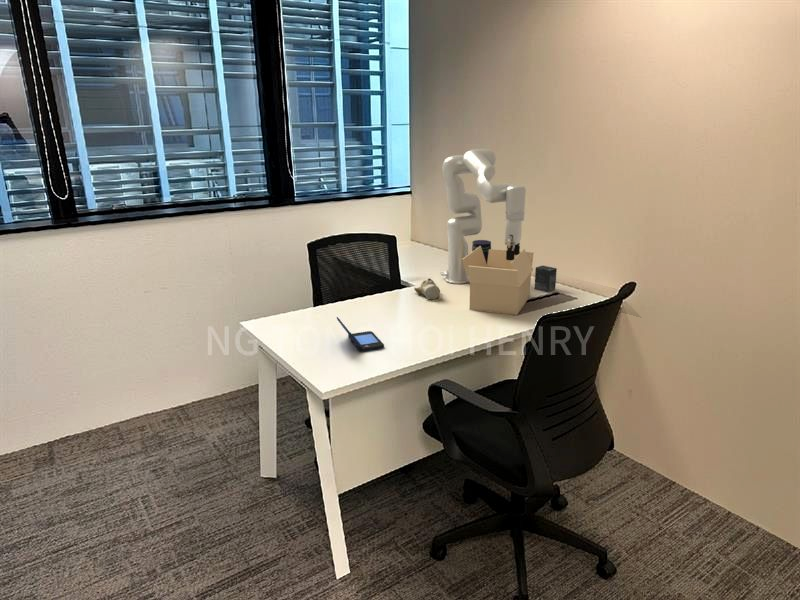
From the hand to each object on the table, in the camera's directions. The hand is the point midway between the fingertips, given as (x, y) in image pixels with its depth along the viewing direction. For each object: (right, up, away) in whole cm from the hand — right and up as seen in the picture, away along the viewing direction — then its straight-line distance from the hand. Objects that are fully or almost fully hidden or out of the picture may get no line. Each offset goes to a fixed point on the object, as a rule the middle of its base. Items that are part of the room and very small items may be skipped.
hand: (512, 257), depth 221 cm
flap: (+4, -4, 0) cm, 5 cm away
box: (+20, -13, +25) cm, 35 cm away
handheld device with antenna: (-61, -34, -31) cm, 76 cm away
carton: (-5, -19, +9) cm, 22 cm away
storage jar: (-4, -2, +61) cm, 61 cm away
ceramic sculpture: (-34, -16, +20) cm, 43 cm away
